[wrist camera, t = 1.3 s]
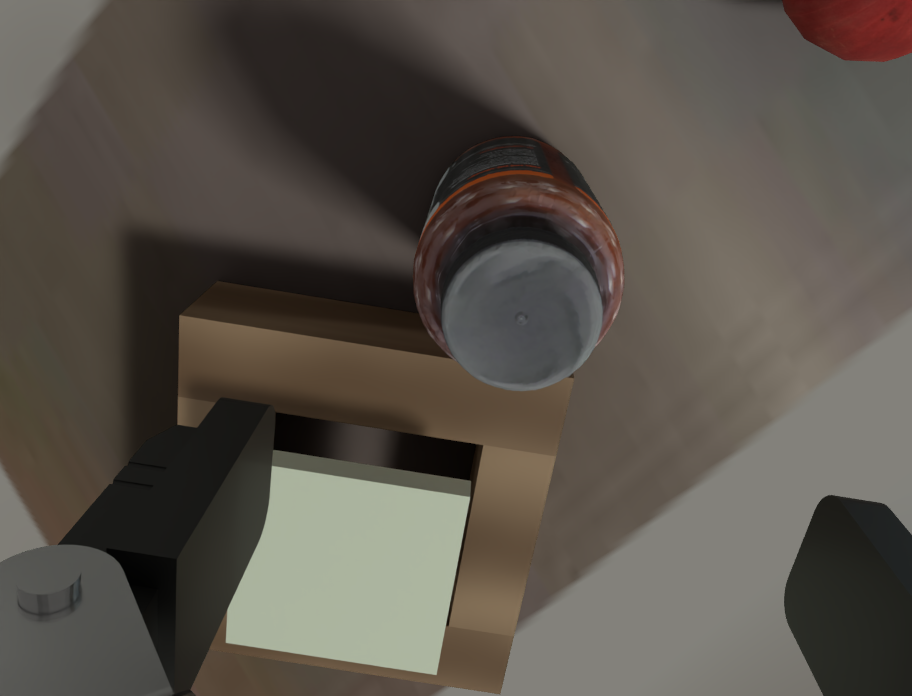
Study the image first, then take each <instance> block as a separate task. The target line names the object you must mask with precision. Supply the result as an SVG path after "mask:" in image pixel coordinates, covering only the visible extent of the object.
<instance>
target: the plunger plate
mask: <svg viewBox="0 0 912 696" xmlns="http://www.w3.org/2000/svg"><path fill="white" fill-rule="evenodd" d="M470 492H471V481H468V480H462V479H455V478H449V477H443V476H436V475H430V474H424V473H417V472H411V471H405V470H398V469H392V468H386V467H379V466H373V465H367V464H360V463H354V462H348V461H341V460H335V459H329V458H322V457H316V456H310V455H303V454H297V453H291V452H284V451H278V450H273V458H272V471H271V485H270V498H269V506H268V512H267V517H266V521H265V525H264V529H263V532H262V535H261V538H260V540H259V542H258V545H257V547H256V549H255V551H254V553H253V555H252V558H251V560H250V562H249V564H248V566H247V568H246V571H245V573H244V575H243V577H242V579H241V581H240V583H239V586H238V588H237V590H236V592H235V594H234V596H233V599H232V601H231V603H230V605H229V607H228V609H227V628H226V643H231V644H237V645H244V646H250V647H257V648H263V649H270V650H276V651H283V652H289V653H296V654H302V655H309V656H315V657H322V658H328V659H335V660H341V661H348V662H354V663H361V664H367V665H374V666H380V667H387V668H393V669H400V670H406V671H413V672H419V673H426V674H432V675H437V669H438V664H439V659H440V654H441V648H442V643H443V638H444V632H445V627H446V622H447V617H448V611H449V606H450V601H451V596H452V590H453V585H454V580H455V575H456V569H457V564H458V559H459V553H460V548H461V543H462V538H463V532H464V527H465V522H466V517H467V511H468V506H469V501H470Z"/></svg>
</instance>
